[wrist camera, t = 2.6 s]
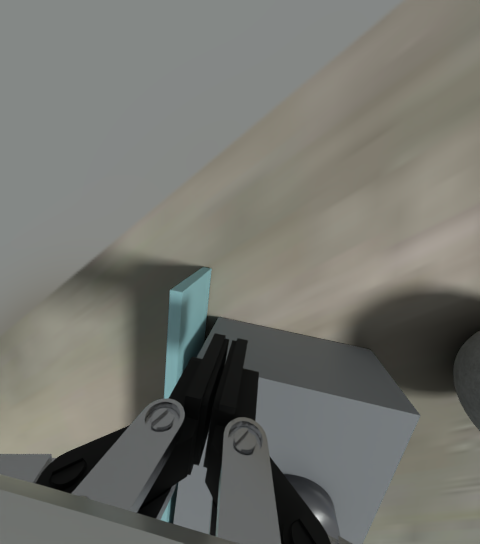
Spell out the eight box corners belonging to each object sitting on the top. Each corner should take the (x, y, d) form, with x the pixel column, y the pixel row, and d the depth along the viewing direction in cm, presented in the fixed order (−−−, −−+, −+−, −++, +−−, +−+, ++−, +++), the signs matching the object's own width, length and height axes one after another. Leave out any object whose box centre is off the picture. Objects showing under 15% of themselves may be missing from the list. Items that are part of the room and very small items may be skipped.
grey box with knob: (315, 505, 25) (337, 647, 17) (195, 471, 26) (159, 587, 18) (370, 349, 20) (439, 441, 12) (218, 316, 21) (185, 378, 13)
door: (192, 479, 26) (165, 565, 20) (182, 476, 27) (153, 560, 20) (213, 268, 20) (185, 292, 14) (200, 266, 20) (166, 289, 14)
